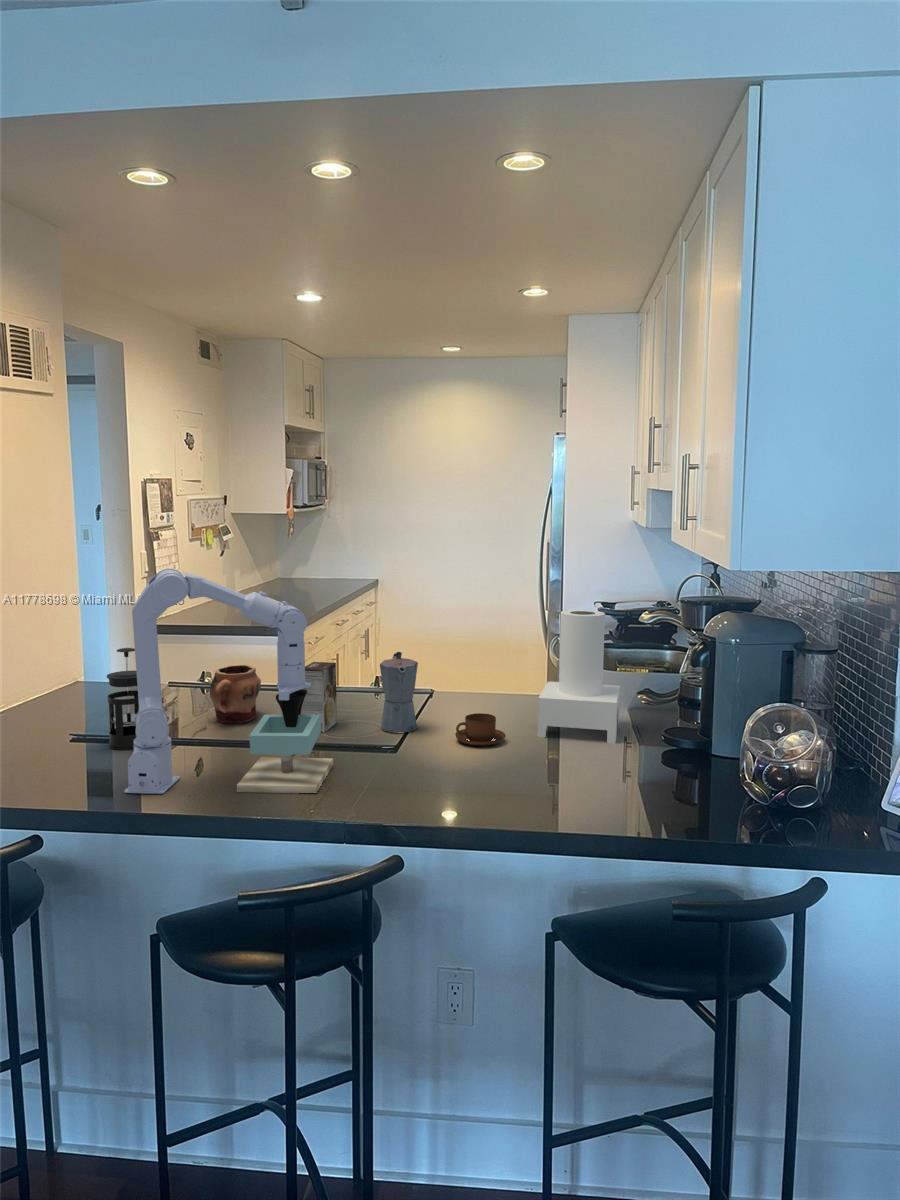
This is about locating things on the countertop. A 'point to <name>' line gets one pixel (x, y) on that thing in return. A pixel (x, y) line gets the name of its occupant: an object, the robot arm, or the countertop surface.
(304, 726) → the square loop
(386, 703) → the moka pot
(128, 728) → the french press
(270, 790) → the post board
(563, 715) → the paper towel holder
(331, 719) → the coffee box
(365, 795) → the countertop surface
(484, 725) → the cup and saucer
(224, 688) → the decorative planter
